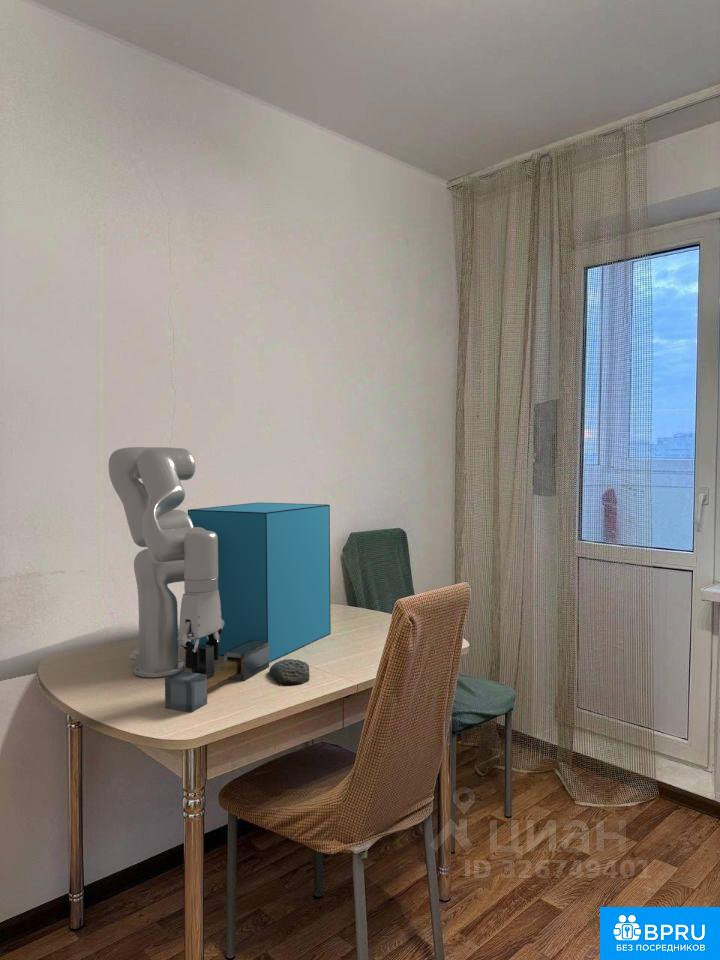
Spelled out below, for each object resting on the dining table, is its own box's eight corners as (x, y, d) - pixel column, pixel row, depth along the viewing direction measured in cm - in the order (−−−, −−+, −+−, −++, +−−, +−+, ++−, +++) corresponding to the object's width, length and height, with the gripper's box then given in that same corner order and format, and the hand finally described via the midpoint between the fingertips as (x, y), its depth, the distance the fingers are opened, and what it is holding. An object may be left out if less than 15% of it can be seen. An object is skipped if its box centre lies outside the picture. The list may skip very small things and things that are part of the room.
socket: (165, 707, 146) (164, 678, 146) (181, 699, 151) (180, 670, 151) (191, 712, 143) (191, 682, 143) (207, 703, 148) (206, 674, 148)
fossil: (308, 669, 173) (308, 654, 173) (310, 686, 160) (309, 670, 160) (269, 671, 172) (269, 656, 172) (267, 688, 159) (267, 672, 159)
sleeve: (224, 678, 165) (224, 652, 165) (250, 664, 176) (250, 639, 176) (244, 681, 163) (243, 654, 163) (269, 666, 174) (269, 641, 174)
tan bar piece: (176, 696, 147) (175, 653, 147) (232, 667, 167) (232, 629, 167) (191, 699, 145) (190, 655, 145) (246, 669, 166) (245, 631, 165)
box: (330, 634, 207) (329, 504, 206) (267, 663, 177) (266, 512, 176) (259, 624, 219) (258, 502, 218) (189, 651, 189) (187, 509, 188)
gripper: (210, 578, 161) (211, 651, 162) (162, 591, 145) (164, 673, 146) (236, 580, 158) (237, 655, 159) (191, 593, 142) (192, 677, 143)
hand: (202, 663), depth 152 cm, fingers open, 6 cm apart
